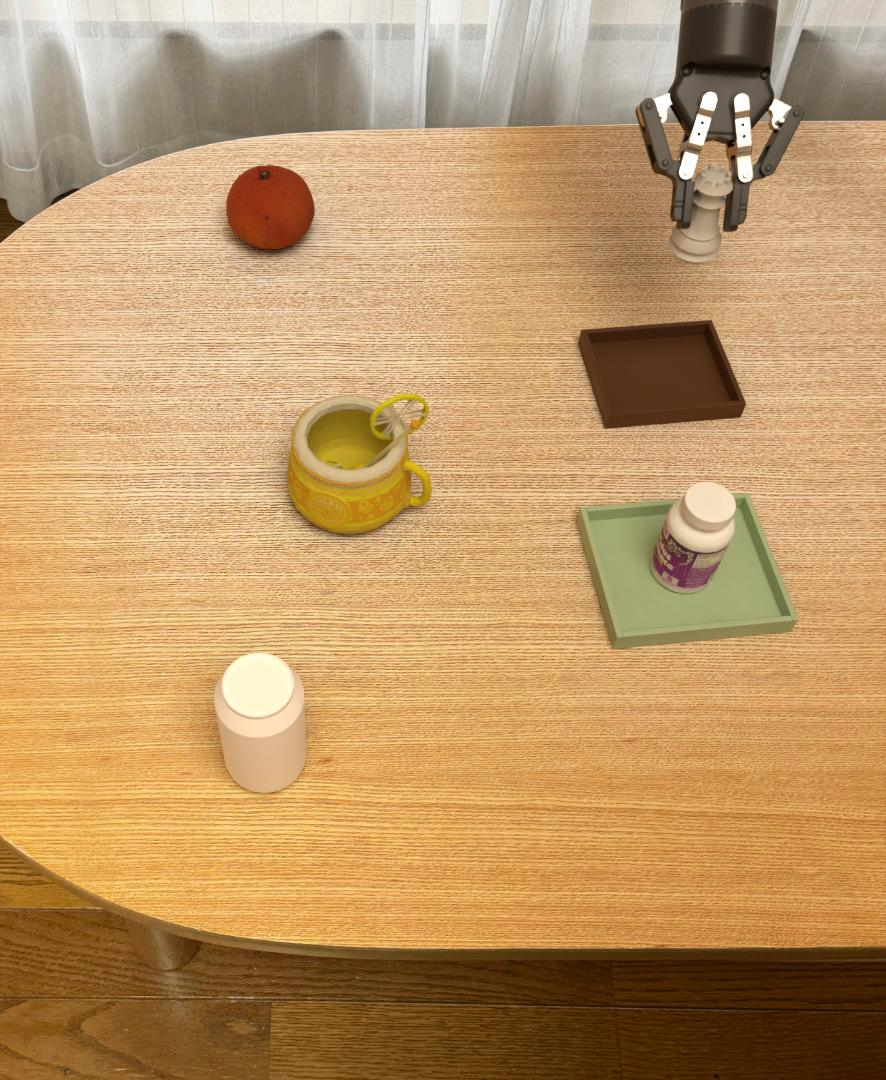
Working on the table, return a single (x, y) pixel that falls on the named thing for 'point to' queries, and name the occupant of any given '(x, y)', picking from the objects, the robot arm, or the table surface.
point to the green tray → (670, 617)
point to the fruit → (270, 207)
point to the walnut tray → (660, 374)
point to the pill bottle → (694, 538)
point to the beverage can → (261, 722)
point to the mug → (354, 462)
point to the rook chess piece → (703, 218)
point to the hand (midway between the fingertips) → (706, 228)
